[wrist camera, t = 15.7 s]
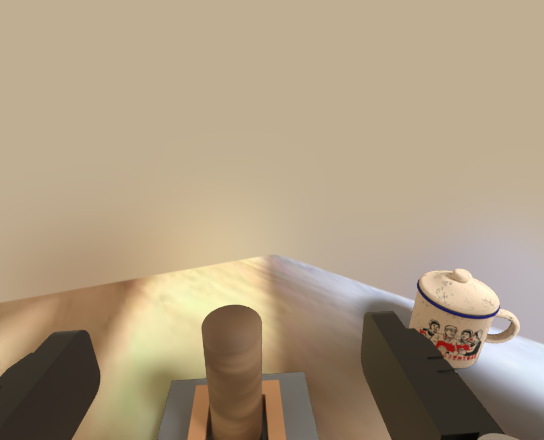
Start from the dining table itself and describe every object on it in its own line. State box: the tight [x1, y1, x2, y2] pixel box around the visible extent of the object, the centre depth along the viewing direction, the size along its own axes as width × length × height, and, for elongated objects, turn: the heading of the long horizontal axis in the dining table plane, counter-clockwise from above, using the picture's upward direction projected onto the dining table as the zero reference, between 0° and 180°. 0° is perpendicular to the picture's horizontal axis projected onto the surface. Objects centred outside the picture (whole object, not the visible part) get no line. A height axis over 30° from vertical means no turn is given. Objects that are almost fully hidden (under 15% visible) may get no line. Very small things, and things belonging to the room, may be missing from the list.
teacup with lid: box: [409, 269, 520, 368], centre depth 39 cm, size 12×9×12 cm
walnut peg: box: [202, 305, 262, 440], centre depth 25 cm, size 4×4×14 cm
